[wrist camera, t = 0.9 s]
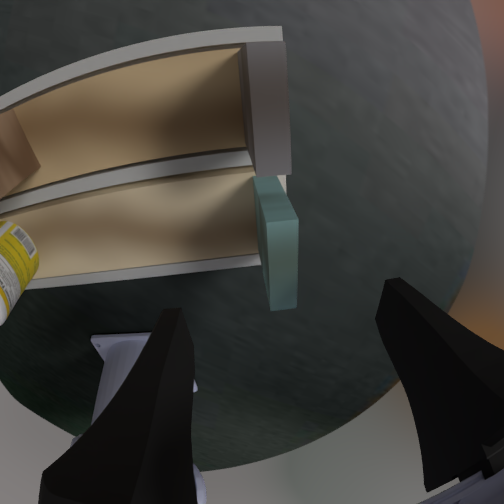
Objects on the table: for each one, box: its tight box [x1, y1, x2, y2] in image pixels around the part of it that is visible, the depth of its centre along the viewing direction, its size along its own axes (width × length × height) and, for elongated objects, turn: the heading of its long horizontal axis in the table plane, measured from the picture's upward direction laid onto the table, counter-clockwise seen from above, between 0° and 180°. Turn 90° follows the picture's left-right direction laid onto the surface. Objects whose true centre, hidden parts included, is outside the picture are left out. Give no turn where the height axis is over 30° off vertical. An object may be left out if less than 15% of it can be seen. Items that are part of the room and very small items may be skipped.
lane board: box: [0, 26, 286, 290], centre depth 15 cm, size 14×24×2 cm, turn 94°
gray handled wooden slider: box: [2, 41, 291, 198], centre depth 11 cm, size 5×22×6 cm, turn 94°
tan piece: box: [0, 165, 298, 311], centre depth 15 cm, size 5×22×6 cm, turn 94°
